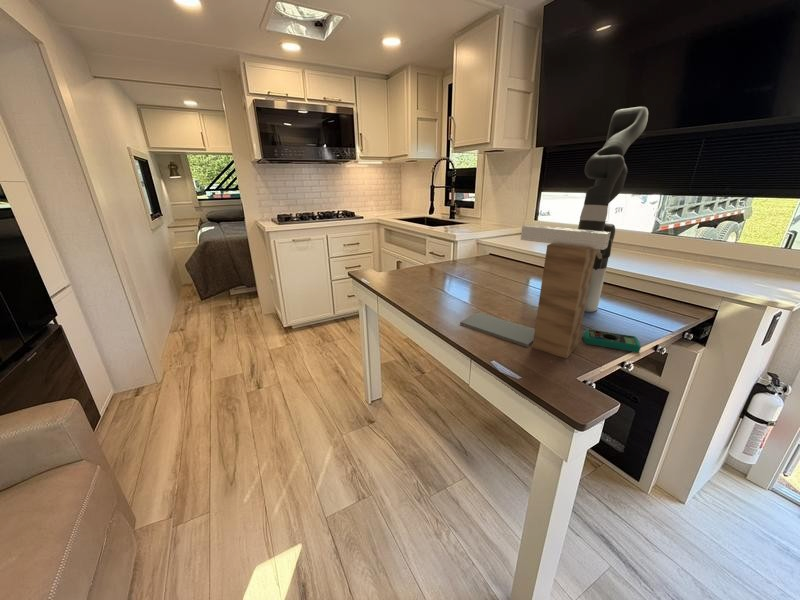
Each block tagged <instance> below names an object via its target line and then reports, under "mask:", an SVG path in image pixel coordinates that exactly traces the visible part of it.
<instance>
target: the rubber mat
mask: <svg viewBox="0 0 800 600" xmlns="http://www.w3.org/2000/svg"><path fill="white" fill-rule="evenodd" d="M460 324H462V325H461V326H463V325H465V326H464V327H466V326H467V327H466V328H469V327H470V328H469V329H472V328H473V329H472V330H475V331H478V332H482V333H485V334H487V335H491V336H494V337H496V338H498V339H502V340H505V341H508V342H510V343H514V344H516V345H519V346H522V347H526V348H529V347H530V346H531V345H533V339H534V332H535V328H532V327H529V326H525V325H522V324H519V323H515V322H512V321H509V320H505V319H503V318H498V317H495V316H492V315H490V314H489V315H488V314H486V313H482V312H476V313H474V314H472V315H470V316H468V317H467V318H465V319H463V320H461V321H460V322H459V325H460Z"/></svg>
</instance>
